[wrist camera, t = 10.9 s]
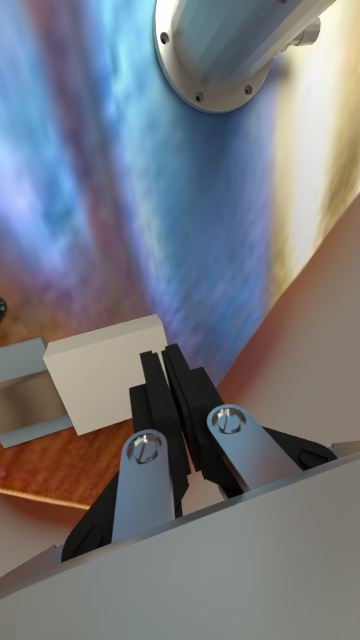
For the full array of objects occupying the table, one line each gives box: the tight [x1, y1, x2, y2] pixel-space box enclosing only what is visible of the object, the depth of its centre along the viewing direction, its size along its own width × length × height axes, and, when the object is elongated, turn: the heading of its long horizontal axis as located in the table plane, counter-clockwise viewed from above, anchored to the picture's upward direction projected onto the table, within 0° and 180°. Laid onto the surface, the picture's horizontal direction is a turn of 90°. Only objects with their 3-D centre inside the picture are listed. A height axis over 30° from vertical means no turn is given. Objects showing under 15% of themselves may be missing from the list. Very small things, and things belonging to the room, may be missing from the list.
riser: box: [43, 313, 170, 435], centre depth 36 cm, size 14×12×4 cm
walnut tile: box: [0, 370, 68, 434], centre depth 35 cm, size 9×6×2 cm, turn 100°
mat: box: [0, 337, 74, 448], centre depth 36 cm, size 10×14×1 cm
